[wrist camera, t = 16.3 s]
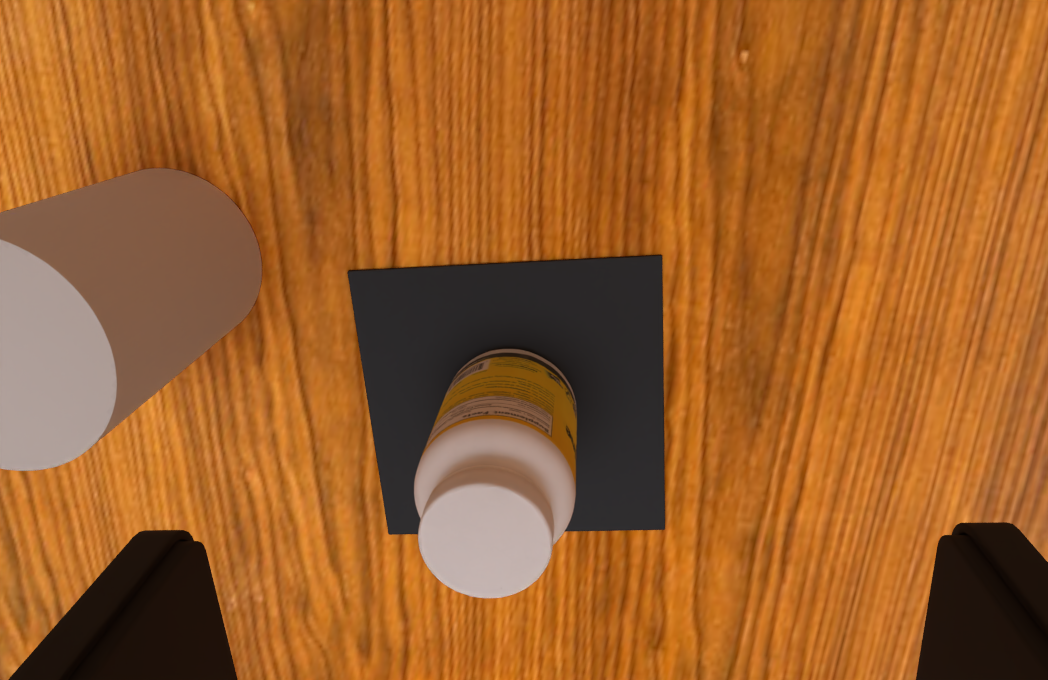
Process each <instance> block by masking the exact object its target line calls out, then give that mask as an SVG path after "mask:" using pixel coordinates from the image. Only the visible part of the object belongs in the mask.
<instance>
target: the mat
mask: <svg viewBox="0 0 1048 680" xmlns="http://www.w3.org/2000/svg"><path fill="white" fill-rule="evenodd" d="M348 278H349V284H350V291H351V297H352V303H353V310H354V316H355V323H356V329H357V335H358V342H359V348H360V354H361V361H362V367H363V373H364V380H365V386H366V393H367V399H368V405H369V412H370V418H371V424H372V431H373V437H374V444H375V450H376V456H377V463H378V469H379V475H380V482H381V488H382V494H383V501H384V507H385V514H386V520H387V526H388V533H389V534H418V529H419V525H420V521H421V519H420V516H419V514H418V511H417V508H416V504H415V497H414V481H415V475H416V472H417V468H418V465H419V462H420V459H421V457H422V454H423V452H424V449H425V447H426V444H427V442H428V439H429V436H430V434H431V431H432V429H433V426H434V424H435V421H436V419H437V416H438V413H439V411H440V408H441V406H442V403H443V400H444V398H445V395H446V393H447V391H448V388H449V386H450V384H451V382H452V380H453V379H454V377H455V376H456V374H457V373H458V372H459V370H460V369H461V368H462V367H463V366H464V365H466V364H467V363H468V362H469V361H471V360H472V359H474V358H475V357H477V356H479V355H481V354H484V353H486V352H489V351H493V350H499V349H519V350H524V351H528V352H531V353H534V354H536V355H538V356H540V357H542V358H544V359H546V360H547V361H549V362H550V363H552V364H553V365H554V366H555V367H557V368H558V369H559V370H560V371H561V372H562V374H563V375H564V376H565V378H566V379H567V381H568V382H569V384H570V386H571V388H572V391H573V394H574V397H575V401H576V409H577V433H576V435H577V445H576V496H575V504H574V510H573V514H572V517H571V520H570V522H569V524H568V526H567V528H566V530H565V531H612V530H665V491H664V391H663V291H662V255H649V256H629V257H609V258H589V259H569V260H549V261H530V262H510V263H490V264H470V265H450V266H430V267H410V268H390V269H371V270H351V271H348Z"/></svg>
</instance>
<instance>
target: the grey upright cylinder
mask: <svg viewBox="0 0 1048 680" xmlns="http://www.w3.org/2000/svg"><path fill="white" fill-rule="evenodd" d="M261 280H262V260H261V254H260V249H259V245H258V242H257V239H256V237H255V234H254V232H253V230H252V228H251V226H250V224H249V222H248V221H247V219H246V217H245V216H244V215H243V213H242V212H241V210H240V209H239V208H238V207H237V206H236V204H235V203H234V202H233V201H232V200H231V199H230V198H229V197H228V196H227V195H226V194H224V193H223V192H222V191H221V190H219V189H218V188H217V187H215V186H214V185H212V184H211V183H209V182H207V181H205V180H204V179H202V178H200V177H197V176H195V175H192V174H190V173H187V172H183V171H180V170H175V169H167V168H151V169H144V170H139V171H136V172H132V173H129V174H126V175H123V176H119V177H116V178H113V179H109V180H106V181H103V182H100V183H96V184H93V185H90V186H86V187H83V188H80V189H77V190H73V191H70V192H67V193H63V194H60V195H57V196H54V197H50V198H47V199H44V200H40V201H37V202H34V203H30V204H27V205H24V206H21V207H17V208H14V209H11V210H7V211H4V212H1V213H0V468H1V469H8V470H18V471H33V470H42V469H48V468H52V467H56V466H59V465H62V464H65V463H67V462H69V461H72V460H73V459H75V458H77V457H79V456H80V455H82V454H83V453H84V452H86V451H87V450H88V449H89V448H91V447H92V446H93V445H94V444H95V443H97V442H98V441H99V440H100V439H101V438H103V437H104V436H105V435H106V434H107V433H109V432H110V431H111V430H112V429H113V428H115V427H116V426H117V425H118V424H119V423H121V422H122V421H123V420H124V419H125V418H127V417H128V416H129V415H130V414H131V413H133V412H134V411H135V410H136V409H137V408H139V407H140V406H141V405H142V404H143V403H145V402H146V401H147V400H148V399H149V398H151V397H152V396H153V395H154V394H155V393H157V392H158V391H159V390H160V389H161V388H163V387H164V386H165V385H166V384H167V383H169V382H170V381H171V380H172V379H173V378H175V377H176V376H177V375H178V374H179V373H180V372H182V371H183V370H184V369H185V368H186V367H188V366H189V365H190V364H191V363H192V362H194V361H195V360H196V359H197V358H198V357H200V356H201V355H202V354H203V353H204V352H206V351H207V350H208V349H209V348H210V347H212V346H213V345H214V344H215V343H216V342H218V341H219V340H220V339H221V338H222V337H224V336H225V335H226V334H227V333H228V332H230V331H231V330H232V329H233V328H234V327H236V326H237V325H238V324H239V323H240V322H241V321H242V320H243V319H244V318H245V317H246V316H247V315H248V313H249V312H250V310H251V309H252V307H253V305H254V304H255V301H256V299H257V297H258V294H259V290H260V286H261Z"/></svg>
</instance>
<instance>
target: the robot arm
mask: <svg viewBox="0 0 1048 680" xmlns="http://www.w3.org/2000/svg"><path fill="white" fill-rule="evenodd" d="M9 680H237V676H236V672H235V668H234V664H233V659H232V655H231V651H230V647H229V643H228V639H227V635H226V631H225V627H224V623H223V619H222V615H221V610H220V606H219V602H218V598H217V594H216V590H215V586H214V582H213V578H212V574H211V570H210V566H209V561H208V557H207V553H206V550H205V547H204V545H203V544H202V543H201V542H198V541H194V540H193V538H192V536H191V535H190V534H189V532H187V531H184V530H155V531H142V532H139V533H138V534H136V535H135V536H134V537H133V538H132V539H131V540H130V542H129V543H128V544H127V545H126V546H125V547H124V548H123V550H122V551H121V552H120V553H119V554H118V555H117V556H116V558H115V559H114V560H113V561H112V562H111V563H110V564H109V565H108V567H107V568H106V569H105V570H104V571H103V572H102V573H101V575H100V576H99V577H98V578H97V579H96V580H95V581H94V583H93V584H92V585H91V586H90V587H89V588H88V589H87V591H86V592H85V593H84V594H83V595H82V596H81V597H80V599H79V600H78V601H77V602H76V603H75V604H74V605H73V607H72V608H71V609H70V610H69V611H68V612H67V613H66V615H65V616H64V617H63V618H62V619H61V620H60V621H59V623H58V624H57V625H56V626H55V627H54V628H53V629H52V631H51V632H50V633H49V634H48V635H47V636H46V637H45V639H44V640H43V641H42V642H41V643H40V644H39V645H38V647H37V648H36V649H35V650H34V651H33V652H32V653H31V655H30V656H29V657H28V658H27V659H26V660H25V661H24V663H23V664H22V665H21V666H20V667H19V668H18V669H17V670H16V672H15V673H14V674H13V675H12V676H11V677H10V678H9ZM916 680H1048V562H1047V561H1046V560H1045V559H1044V558H1043V557H1042V555H1041V554H1040V553H1039V552H1038V551H1037V550H1036V548H1035V547H1034V546H1033V545H1032V544H1031V543H1030V542H1029V540H1028V539H1027V538H1026V537H1025V536H1024V535H1023V534H1022V532H1021V531H1020V530H1019V529H1018V528H1017V527H1015V526H1014V525H1013V524H1011V523H960V524H958V525H956V527H955V528H954V530H953V532H952V535H944V536H942V537H941V538H940V540H939V543H938V546H937V553H936V559H935V565H934V571H933V577H932V584H931V590H930V596H929V602H928V609H927V615H926V621H925V627H924V633H923V640H922V646H921V652H920V658H919V665H918V671H917V677H916Z"/></svg>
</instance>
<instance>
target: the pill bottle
mask: <svg viewBox="0 0 1048 680" xmlns="http://www.w3.org/2000/svg"><path fill="white" fill-rule="evenodd" d="M576 433H577V409H576V401H575V397H574V394H573V391H572V388H571V386H570V384H569V382H568V381H567V379H566V378H565V376H564V375H563V374H562V372H561V371H560V370H559V369H558V368H557V367H555V366H554V365H553V364H552V363H550V362H549V361H547V360H546V359H544V358H542V357H540V356H538V355H536V354H534V353H531V352H528V351H524V350H519V349H499V350H493V351H489V352H486V353H484V354H481V355H479V356H477V357H475V358H474V359H472V360H471V361H469V362H468V363H467V364H466V365H464V366H463V367H462V368H461V369H460V370H459V372H458V373H457V374H456V376H455V377H454V379H453V380H452V382H451V384H450V386H449V388H448V391H447V393H446V395H445V398H444V400H443V403H442V406H441V408H440V411H439V413H438V416H437V419H436V421H435V424H434V426H433V429H432V431H431V434H430V436H429V439H428V442H427V444H426V447H425V449H424V452H423V454H422V457H421V459H420V462H419V465H418V468H417V472H416V475H415V481H414V497H415V504H416V508H417V511H418V514H419V516H420V519H421V521H420V525H419V529H418V542H419V548H420V552H421V555H422V557H423V559H424V561H425V563H426V565H427V567H428V568H429V569H430V571H431V572H432V573H433V574H434V576H435V577H436V578H438V579H439V580H440V581H441V582H442V583H444V584H445V585H446V586H448V587H450V588H451V589H453V590H455V591H457V592H460V593H463V594H466V595H469V596H473V597H479V598H500V597H505V596H509V595H512V594H515V593H518V592H520V591H522V590H524V589H526V588H527V587H529V586H530V585H531V584H532V583H534V582H535V581H536V580H537V579H538V578H539V577H540V576H541V575H542V573H543V572H544V570H545V569H546V567H547V565H548V563H549V560H550V557H551V553H552V547H553V545H554V544H555V543H556V542H557V541H558V539H559V538H560V537H561V536H562V534H563V533H564V531H565V530H566V528H567V526H568V524H569V522H570V520H571V517H572V514H573V510H574V504H575V496H576V445H577V435H576Z"/></svg>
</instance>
